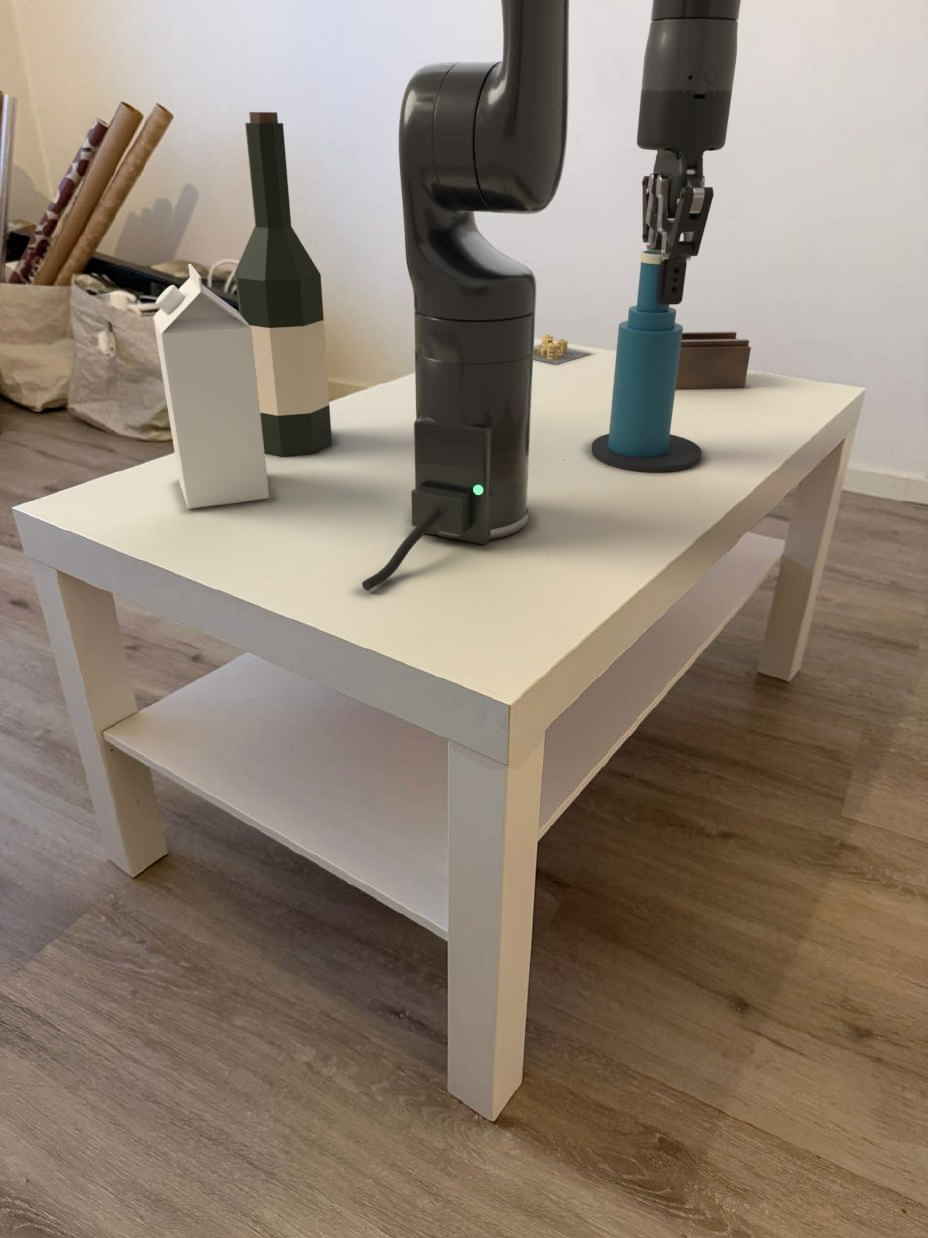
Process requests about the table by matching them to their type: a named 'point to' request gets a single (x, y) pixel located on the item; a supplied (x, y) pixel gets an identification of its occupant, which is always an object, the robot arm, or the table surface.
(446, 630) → the table surface
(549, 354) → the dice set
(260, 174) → the wine bottle
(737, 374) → the cradle
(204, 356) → the milk carton
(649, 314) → the bottle
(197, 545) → the table surface
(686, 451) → the coaster
